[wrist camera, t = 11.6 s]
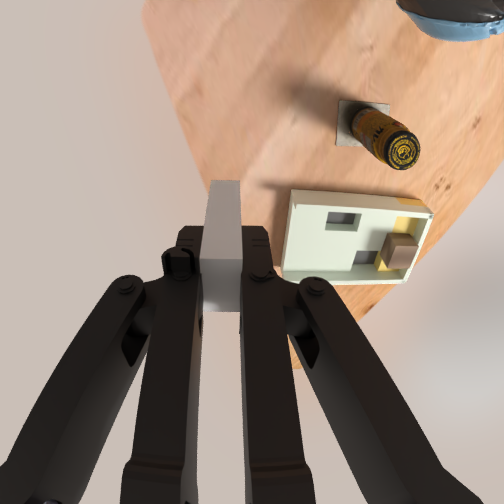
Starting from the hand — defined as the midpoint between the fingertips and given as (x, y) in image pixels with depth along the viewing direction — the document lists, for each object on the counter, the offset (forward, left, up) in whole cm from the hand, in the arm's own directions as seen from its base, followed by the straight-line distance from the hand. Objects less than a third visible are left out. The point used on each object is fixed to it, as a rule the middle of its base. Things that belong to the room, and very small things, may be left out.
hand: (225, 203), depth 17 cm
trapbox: (+21, +22, -29) cm, 43 cm away
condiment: (+1, +20, -30) cm, 36 cm away
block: (+21, +30, -27) cm, 46 cm away
